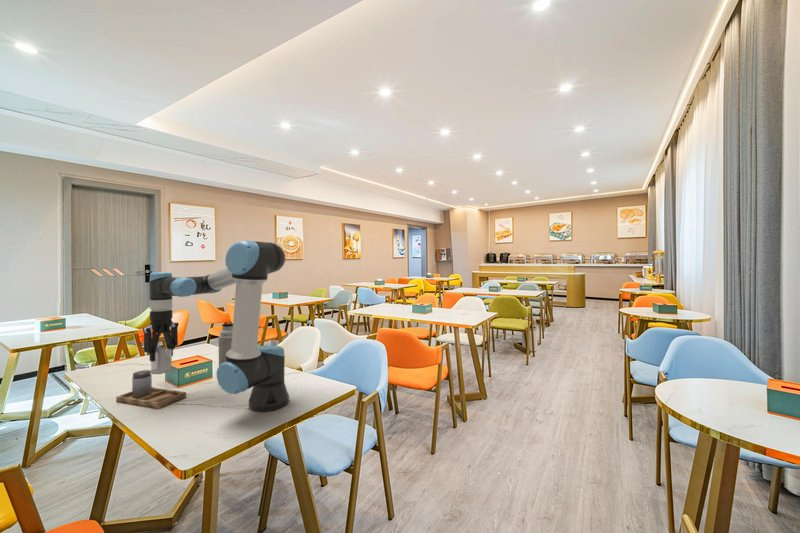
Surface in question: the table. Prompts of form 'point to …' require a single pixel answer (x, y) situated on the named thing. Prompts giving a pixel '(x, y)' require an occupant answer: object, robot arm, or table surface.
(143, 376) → the pepper shaker
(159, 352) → the flask
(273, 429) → the table surface
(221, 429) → the table surface
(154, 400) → the caddy
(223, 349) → the thermos bottle
